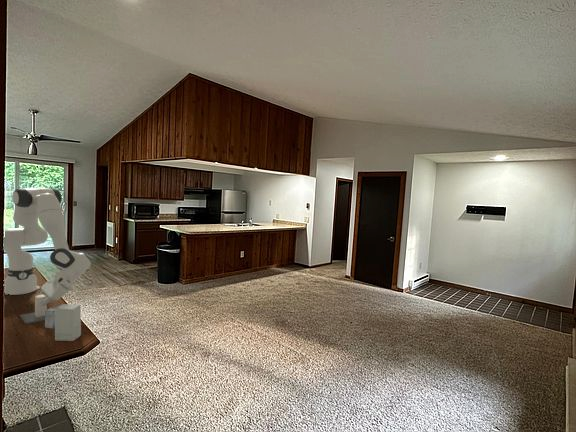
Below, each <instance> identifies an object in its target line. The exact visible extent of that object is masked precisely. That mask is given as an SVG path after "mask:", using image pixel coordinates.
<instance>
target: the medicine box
mask: <svg viewBox="0 0 576 432" xmlns="http://www.w3.org/2000/svg"><path fill="white" fill-rule="evenodd" d="M60 305H61V304H59V305H56V306H52V307H50V308H47V310H45V320H44V328H47V329H55V317H54V309H55V308H57V307H59V306H60Z"/></svg>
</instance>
